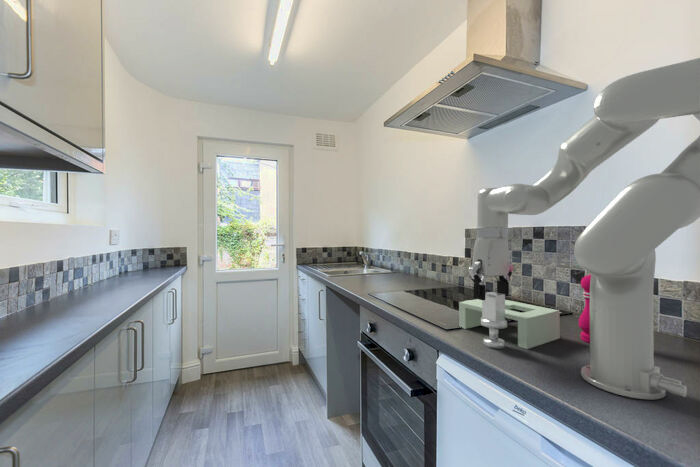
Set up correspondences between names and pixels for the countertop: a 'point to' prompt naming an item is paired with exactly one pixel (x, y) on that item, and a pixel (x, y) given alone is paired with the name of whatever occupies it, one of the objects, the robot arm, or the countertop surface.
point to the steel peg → (493, 319)
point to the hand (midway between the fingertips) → (491, 297)
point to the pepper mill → (585, 310)
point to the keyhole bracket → (532, 324)
